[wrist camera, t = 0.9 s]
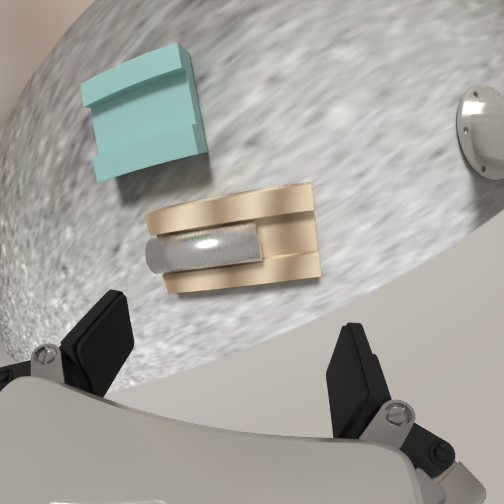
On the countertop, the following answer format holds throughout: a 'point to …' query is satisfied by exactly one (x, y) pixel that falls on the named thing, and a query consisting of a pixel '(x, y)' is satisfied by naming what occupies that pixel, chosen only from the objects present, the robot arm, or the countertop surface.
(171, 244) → the axle
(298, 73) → the countertop surface
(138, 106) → the cradle
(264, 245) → the wooden grooved block
